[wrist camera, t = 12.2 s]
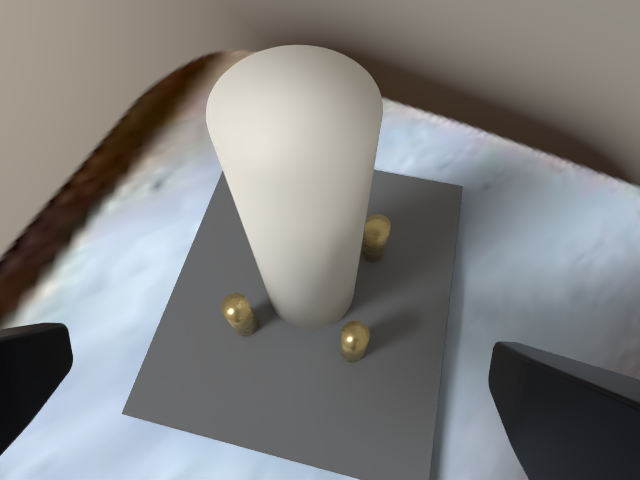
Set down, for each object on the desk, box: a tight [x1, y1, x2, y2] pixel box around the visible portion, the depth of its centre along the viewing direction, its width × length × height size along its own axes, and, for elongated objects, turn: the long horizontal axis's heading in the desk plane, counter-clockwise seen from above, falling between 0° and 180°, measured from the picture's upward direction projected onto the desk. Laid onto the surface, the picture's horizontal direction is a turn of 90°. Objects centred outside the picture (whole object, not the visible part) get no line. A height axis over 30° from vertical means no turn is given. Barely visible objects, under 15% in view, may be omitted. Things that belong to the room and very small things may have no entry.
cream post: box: [206, 45, 383, 330], centre depth 17 cm, size 4×4×13 cm
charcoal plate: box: [122, 170, 462, 480], centre depth 22 cm, size 16×14×4 cm
